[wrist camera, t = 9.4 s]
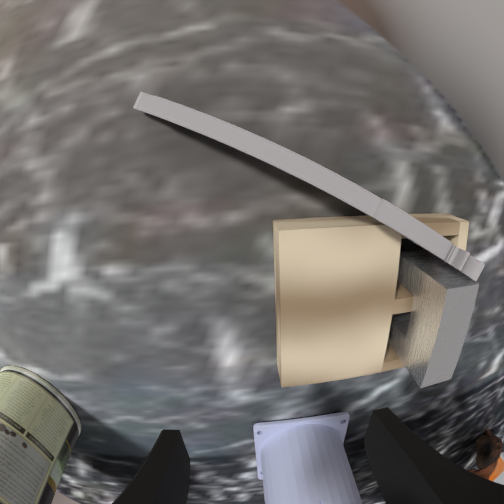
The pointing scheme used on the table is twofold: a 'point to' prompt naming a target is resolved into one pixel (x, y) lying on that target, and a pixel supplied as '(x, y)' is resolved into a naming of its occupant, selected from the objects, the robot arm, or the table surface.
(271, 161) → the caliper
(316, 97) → the table surface
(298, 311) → the tan wooden flat block
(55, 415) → the coffee can
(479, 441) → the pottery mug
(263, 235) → the table surface
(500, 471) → the skincare box
